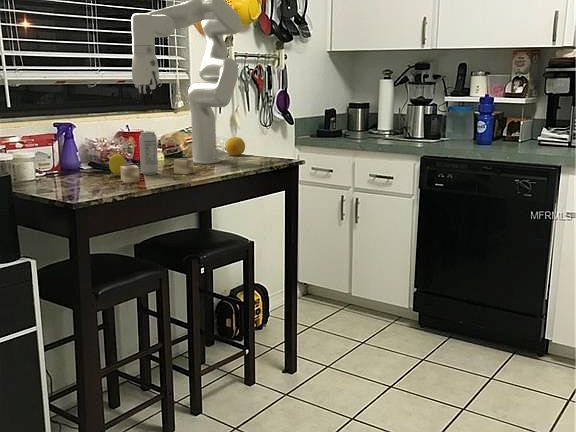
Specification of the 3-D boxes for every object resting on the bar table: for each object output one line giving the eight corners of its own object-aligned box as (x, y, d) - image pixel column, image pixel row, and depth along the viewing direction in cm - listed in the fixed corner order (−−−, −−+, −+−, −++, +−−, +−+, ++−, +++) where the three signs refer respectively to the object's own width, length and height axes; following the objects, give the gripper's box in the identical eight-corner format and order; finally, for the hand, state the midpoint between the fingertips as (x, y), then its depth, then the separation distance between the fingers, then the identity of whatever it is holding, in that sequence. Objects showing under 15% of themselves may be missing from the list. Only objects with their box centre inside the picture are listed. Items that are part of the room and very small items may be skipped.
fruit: (221, 155, 271) (221, 137, 269) (234, 153, 277) (234, 135, 275) (236, 157, 265) (235, 138, 263) (249, 155, 271) (248, 137, 269)
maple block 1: (135, 179, 215) (134, 164, 214) (139, 182, 211) (138, 166, 209) (121, 180, 213) (120, 165, 211) (124, 183, 208) (123, 167, 207)
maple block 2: (182, 171, 232) (181, 157, 230) (193, 172, 229) (193, 158, 228) (174, 173, 227) (173, 159, 226) (185, 174, 225) (184, 160, 224)
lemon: (120, 173, 225) (119, 151, 223) (128, 175, 221) (127, 153, 220) (106, 175, 222) (105, 152, 220) (114, 177, 218) (113, 154, 216)
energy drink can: (154, 171, 230) (152, 130, 226) (160, 174, 225) (159, 132, 221) (138, 173, 226) (136, 131, 223) (144, 175, 221) (142, 133, 218)
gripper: (166, 51, 213) (167, 106, 217) (140, 51, 223) (142, 104, 227) (147, 50, 208) (149, 106, 212) (122, 51, 217) (124, 104, 222)
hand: (145, 105), depth 219 cm, fingers closed
